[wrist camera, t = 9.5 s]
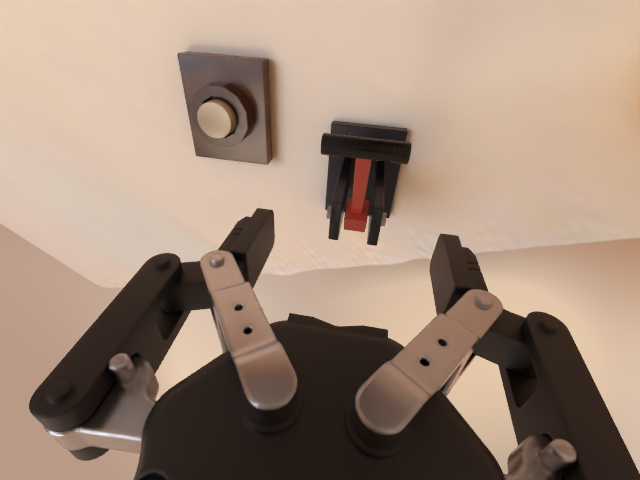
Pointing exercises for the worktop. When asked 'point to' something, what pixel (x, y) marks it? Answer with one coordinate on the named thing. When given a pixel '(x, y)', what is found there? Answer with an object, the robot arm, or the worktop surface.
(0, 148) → the worktop surface
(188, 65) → the button block
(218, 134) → the button
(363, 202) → the lever
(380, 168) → the bracket
